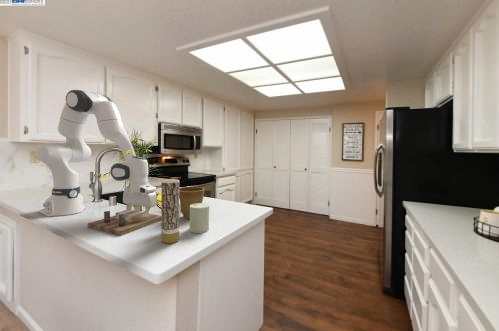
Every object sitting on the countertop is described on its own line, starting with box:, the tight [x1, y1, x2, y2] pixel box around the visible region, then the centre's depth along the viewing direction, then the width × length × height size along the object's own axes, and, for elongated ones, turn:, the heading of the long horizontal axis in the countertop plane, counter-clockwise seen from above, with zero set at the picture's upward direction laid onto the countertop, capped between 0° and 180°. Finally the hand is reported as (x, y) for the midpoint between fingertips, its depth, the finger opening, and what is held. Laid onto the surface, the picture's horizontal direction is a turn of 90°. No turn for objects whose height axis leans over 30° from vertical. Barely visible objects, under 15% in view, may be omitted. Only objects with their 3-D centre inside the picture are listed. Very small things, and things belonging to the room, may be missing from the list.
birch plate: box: [115, 208, 147, 222], centre depth 111 cm, size 12×8×3 cm, turn 68°
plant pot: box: [179, 186, 205, 220], centre depth 121 cm, size 15×15×16 cm
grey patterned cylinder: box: [160, 178, 180, 245], centre depth 90 cm, size 7×7×25 cm
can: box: [188, 202, 211, 234], centre depth 104 cm, size 9×9×12 cm
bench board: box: [87, 210, 161, 237], centre depth 109 cm, size 22×24×7 cm
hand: (139, 213), depth 116 cm, fingers open, 8 cm apart
